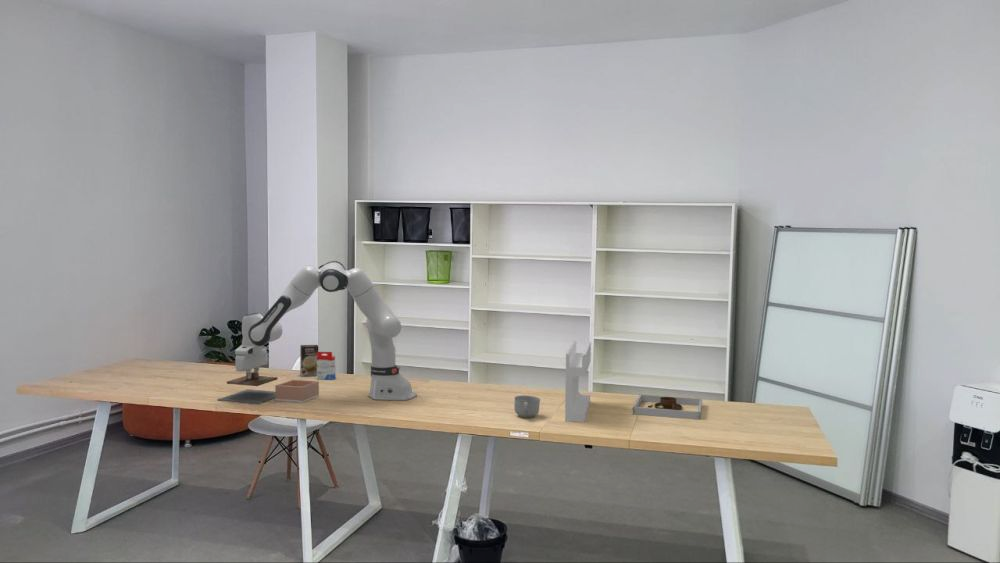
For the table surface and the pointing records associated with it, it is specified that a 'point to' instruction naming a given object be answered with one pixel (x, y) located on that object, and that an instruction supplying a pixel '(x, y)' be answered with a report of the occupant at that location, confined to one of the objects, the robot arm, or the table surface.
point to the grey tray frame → (667, 412)
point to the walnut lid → (252, 380)
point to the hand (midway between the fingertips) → (252, 377)
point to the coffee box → (308, 360)
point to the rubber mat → (250, 396)
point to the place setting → (668, 404)
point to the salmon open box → (297, 391)
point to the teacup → (526, 406)
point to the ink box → (325, 366)
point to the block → (576, 384)
